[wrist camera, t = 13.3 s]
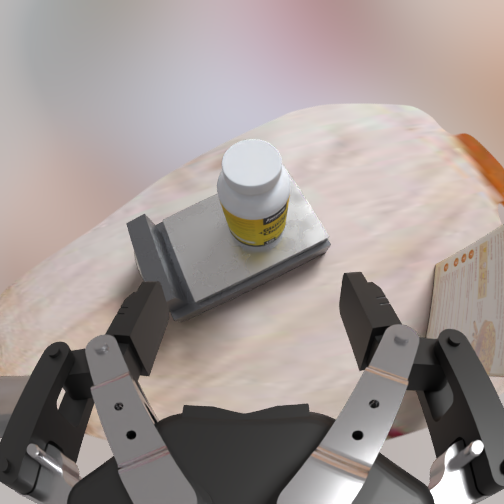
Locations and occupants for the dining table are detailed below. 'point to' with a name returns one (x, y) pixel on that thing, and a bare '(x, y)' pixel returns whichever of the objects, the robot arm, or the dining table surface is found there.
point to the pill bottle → (254, 192)
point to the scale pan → (235, 244)
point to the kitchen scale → (172, 278)
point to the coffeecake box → (473, 299)
